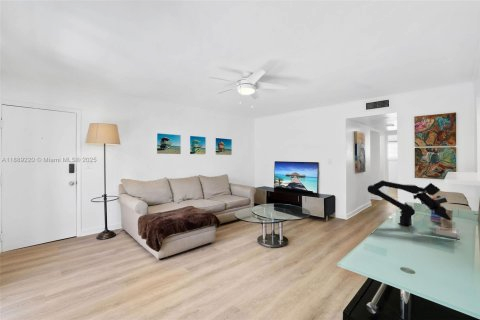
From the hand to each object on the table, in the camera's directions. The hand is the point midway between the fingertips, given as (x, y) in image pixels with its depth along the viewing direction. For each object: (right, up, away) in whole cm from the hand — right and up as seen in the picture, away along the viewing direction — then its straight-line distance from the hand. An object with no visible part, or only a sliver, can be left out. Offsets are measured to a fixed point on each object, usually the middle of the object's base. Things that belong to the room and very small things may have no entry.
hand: (448, 218), depth 143 cm
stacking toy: (+10, -8, +19) cm, 23 cm away
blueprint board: (-5, -8, -4) cm, 11 cm away
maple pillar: (-1, -7, 0) cm, 7 cm away
